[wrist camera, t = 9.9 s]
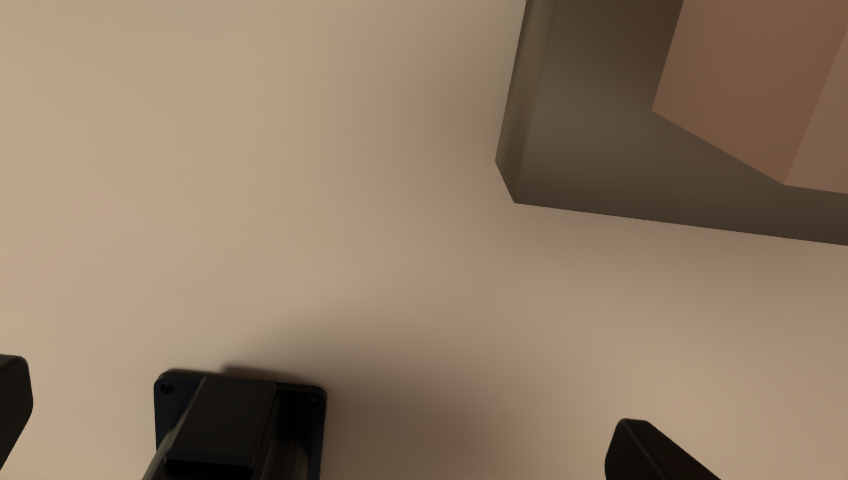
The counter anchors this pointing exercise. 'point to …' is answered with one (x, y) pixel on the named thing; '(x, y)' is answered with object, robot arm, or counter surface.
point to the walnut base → (631, 131)
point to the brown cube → (764, 85)
